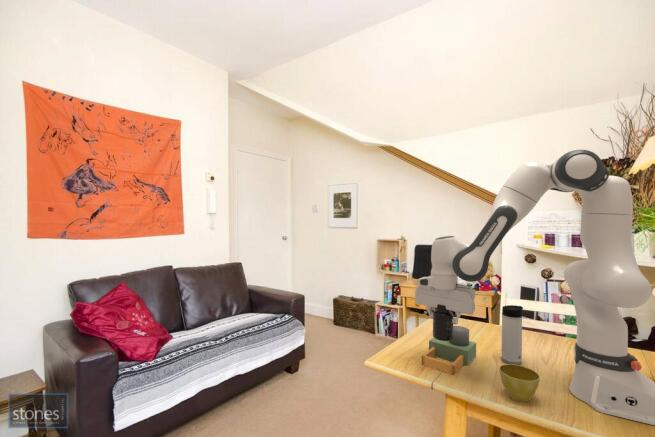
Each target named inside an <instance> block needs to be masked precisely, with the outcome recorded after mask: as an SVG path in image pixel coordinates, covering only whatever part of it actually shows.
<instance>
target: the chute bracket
mask: <svg viewBox="0 0 655 437" xmlns="http://www.w3.org/2000/svg"><path fill="white" fill-rule="evenodd" d="M435 357H436V356H435V348H434V347H432V348H431V349H430V350H429V349H428V350H426V352H425V353H424V354H422V355H421V365H422V366H425V367H428V368H431V369H434V370H437V371H440V372H442V373H443V372H444V373H447V374H449V375H452V376H454V375H455V374H456V373H458V371H459V370H460V368H461V367H462V366H464V364H463V356H462V355H460V356H459V357H458V358H457V359H456V360H455V361H452V363H451V362H447V361H443V360H440V359H437V358H435Z"/></svg>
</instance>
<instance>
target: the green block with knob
mask: <svg viewBox="0 0 655 437" xmlns="http://www.w3.org/2000/svg"><path fill="white" fill-rule="evenodd" d="M432 347H434V348H435V357H438V358H441V359H444V360H448V361H450V362H454V361H455V360H456V359H457V358H458V357H459V356H460V355H462V356H463V366H464V365H465V366H469V365H470V364H471V362H472V361H474V359H475V358H476V357H477V342H474V341H472V340H470V329H469V328H467V327H466V326H463V325H462V326H460V325H453V339H452V340H451V341H441V340H437V339H435V338H434V337H433V336H432V338H431V339H429V341H428V351H429V350H430V349H431V348H432Z"/></svg>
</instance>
